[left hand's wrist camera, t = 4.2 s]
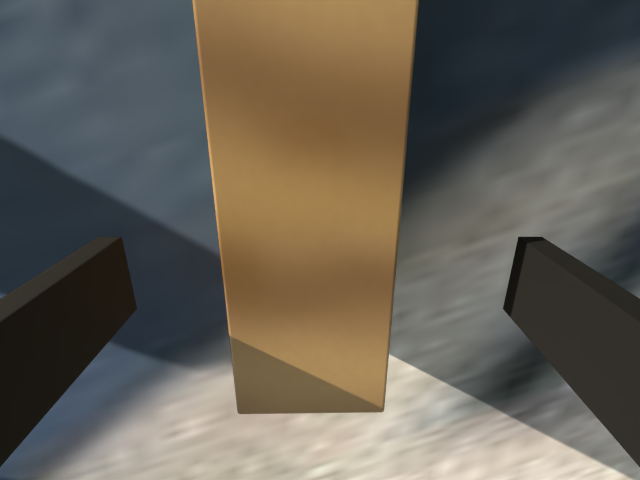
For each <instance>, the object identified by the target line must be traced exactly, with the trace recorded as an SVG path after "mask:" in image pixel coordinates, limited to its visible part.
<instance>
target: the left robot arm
mask: <svg viewBox="0 0 640 480" xmlns="http://www.w3.org/2000/svg"><path fill="white" fill-rule="evenodd" d="M136 309H137V307H136V302H135V297H134V293H133V288H132V284H131V279H130V274H129V270H128V265H127V260H126V256H125V251H124V246H123V242H122V237H97V238H96V239H94V240H93V241H91V242H90V243H88V244H86V245H85V246H83V247H82V248H80V249H78V250H77V251H75V252H74V253H72V254H71V255H69V256H67V257H66V258H64V259H63V260H61V261H59V262H58V263H56V264H55V265H53V266H52V267H50V268H48V269H47V270H45V271H44V272H42V273H40V274H39V275H37V276H36V277H34V278H33V279H31V280H29V281H28V282H26V283H25V284H23V285H21V286H20V287H18V288H17V289H15V290H14V291H12V292H10V293H9V294H7V295H6V296H4V297H2V298H1V299H0V467H1V465H2V464H3V463H4V462H5V461H6V460H7V459H8V457H9V456H10V455H11V454H12V453H13V452H14V450H15V449H16V448H17V447H18V446H19V445H20V443H21V442H22V441H23V440H24V439H25V438H26V437H27V435H28V434H29V433H30V432H31V431H32V430H33V428H34V427H35V426H36V425H37V424H38V423H39V421H40V420H41V419H42V418H43V417H44V416H45V415H46V413H47V412H48V411H49V410H50V409H51V408H52V406H53V405H54V404H55V403H56V402H57V401H58V399H59V398H60V397H61V396H62V395H63V394H64V393H65V391H66V390H67V389H68V388H69V387H70V386H71V384H72V383H73V382H74V381H75V380H76V379H77V377H78V376H79V375H80V374H81V373H82V372H83V371H84V369H85V368H86V367H87V366H88V365H89V364H90V362H91V361H92V360H93V359H94V358H95V357H96V356H97V354H98V353H99V352H100V351H101V350H102V349H103V347H104V346H105V345H106V344H107V343H108V342H109V340H110V339H111V338H112V337H113V336H114V335H115V334H116V332H117V331H118V330H119V329H120V328H121V327H122V325H123V324H124V323H125V322H126V321H127V320H128V318H129V317H130V316H131V315H132V314H133V313H134V312H135V310H136ZM503 309H504V310H505V312H506V313H507V314H508V315H509V316H510V317H511V318H512V320H513V321H514V322H515V323H516V324H517V325H518V327H519V328H520V329H521V330H522V331H523V332H524V334H525V335H526V336H527V337H528V338H529V339H530V340H531V342H532V343H533V344H534V345H535V346H536V347H537V349H538V350H539V351H540V352H541V353H542V354H543V356H544V357H545V358H546V359H547V360H548V361H549V362H550V364H551V365H552V366H553V367H554V368H555V369H556V371H557V372H558V373H559V374H560V375H561V376H562V377H563V379H564V380H565V381H566V382H567V383H568V384H569V386H570V387H571V388H572V389H573V390H574V391H575V393H576V394H577V395H578V396H579V397H580V398H581V399H582V401H583V402H584V403H585V404H586V405H587V406H588V408H589V409H590V410H591V411H592V412H593V413H594V415H595V416H596V417H597V418H598V419H599V420H600V421H601V423H602V424H603V425H604V426H605V427H606V428H607V430H608V431H609V432H610V433H611V434H612V435H613V437H614V438H615V439H616V440H617V441H618V442H619V443H620V445H621V446H622V447H623V448H624V449H625V450H626V452H627V453H628V454H629V455H630V456H631V457H632V459H633V460H634V461H635V462H636V463H637V464H638V465H639V467H640V299H639V298H638V297H636V296H634V295H633V294H631V293H630V292H628V291H626V290H625V289H623V288H622V287H620V286H619V285H617V284H615V283H614V282H612V281H611V280H609V279H607V278H606V277H604V276H603V275H601V274H600V273H598V272H596V271H595V270H593V269H592V268H590V267H588V266H587V265H585V264H584V263H582V262H581V261H579V260H577V259H576V258H574V257H573V256H571V255H569V254H568V253H566V252H565V251H563V250H562V249H560V248H558V247H557V246H555V245H554V244H552V243H550V242H549V241H547V240H546V239H544V238H543V237H518V242H517V246H516V251H515V256H514V260H513V265H512V270H511V274H510V279H509V284H508V288H507V293H506V297H505V302H504V307H503Z"/></svg>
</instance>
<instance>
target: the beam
mask: <svg viewBox="0 0 640 480" xmlns="http://www.w3.org/2000/svg"><path fill="white" fill-rule="evenodd" d="M192 1H193V10H194V20H195V29H196V38H197V47H198V56H199V65H200V74H201V83H202V92H203V101H204V111H205V120H206V129H207V138H208V147H209V156H210V165H211V174H212V183H213V193H214V202H215V211H216V220H217V229H218V238H219V247H220V256H221V265H222V275H223V284H224V293H225V302H226V311H227V320H228V329H229V338H230V347H231V357H232V366H233V375H234V384H235V393H236V402H237V411H238V413H239V414H279V413H357V412H383V411H384V405H385V393H386V381H387V369H388V358H389V346H390V334H391V322H392V311H393V299H394V287H395V275H396V264H397V252H398V240H399V228H400V217H401V205H402V193H403V181H404V170H405V158H406V146H407V134H408V123H409V111H410V99H411V87H412V76H413V64H414V52H415V40H416V29H417V17H418V5H419V0H192Z"/></svg>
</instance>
